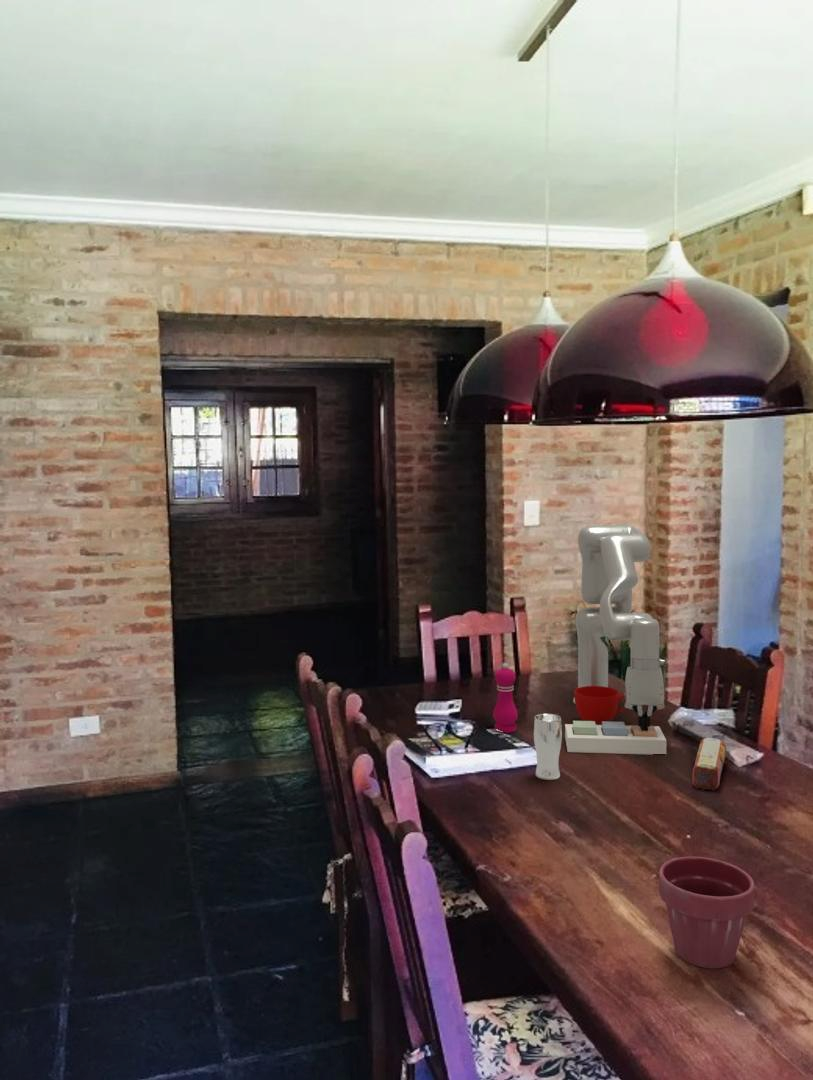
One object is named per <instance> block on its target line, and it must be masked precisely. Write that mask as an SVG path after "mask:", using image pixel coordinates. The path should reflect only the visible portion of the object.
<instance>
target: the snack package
mask: <svg viewBox="0 0 813 1080" xmlns="http://www.w3.org/2000/svg"><path fill="white" fill-rule="evenodd" d="M726 755H727V745H726V744H725V742H724V741H723V740H721V739H717V738H714V737H713V738H712V737H706V738H703V739H701V740H700V742H699V746H698V751H697V753H696V757H695V763H694V766H693V769H692V784H693V786H694V788H696V789H698V788H703V789H702V790H704V789H712V790H711V791H715V790H717V789H718V788H719V786H720V781H721V775H722V771H723V767H724V761H725V759H726Z"/></svg>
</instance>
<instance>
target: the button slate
mask: <svg viewBox="0 0 813 1080" xmlns="http://www.w3.org/2000/svg"><path fill="white" fill-rule="evenodd" d="M626 726H627V725H626V724H625V721H610V722H607V721H602V732H603V735H604V736H627V728H626Z"/></svg>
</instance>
